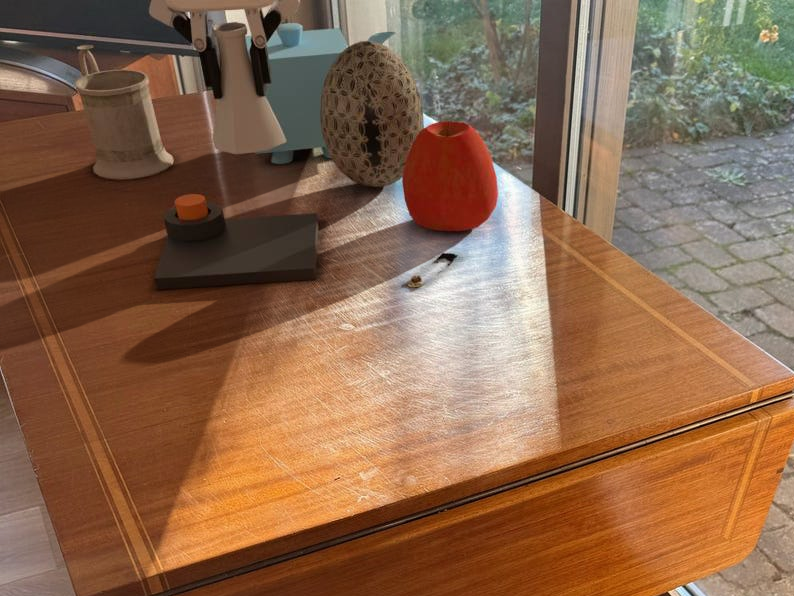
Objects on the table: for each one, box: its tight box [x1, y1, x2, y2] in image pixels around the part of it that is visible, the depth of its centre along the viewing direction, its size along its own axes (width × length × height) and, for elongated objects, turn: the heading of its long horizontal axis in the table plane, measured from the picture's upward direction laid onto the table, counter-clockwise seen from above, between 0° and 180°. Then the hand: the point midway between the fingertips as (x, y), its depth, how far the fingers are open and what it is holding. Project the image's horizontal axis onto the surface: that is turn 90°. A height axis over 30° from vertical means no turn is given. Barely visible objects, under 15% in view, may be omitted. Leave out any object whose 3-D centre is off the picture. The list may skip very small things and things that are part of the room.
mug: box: [74, 44, 174, 181], centre depth 121 cm, size 14×10×12 cm
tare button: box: [174, 193, 209, 220], centre depth 105 cm, size 3×3×2 cm
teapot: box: [245, 22, 396, 165], centre depth 122 cm, size 22×11×14 cm, turn 102°
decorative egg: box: [320, 40, 425, 188], centre depth 112 cm, size 12×12×15 cm
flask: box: [211, 21, 287, 155], centre depth 93 cm, size 7×7×10 cm
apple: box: [401, 120, 499, 232], centre depth 105 cm, size 10×10×10 cm
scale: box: [153, 201, 320, 291], centre depth 103 cm, size 16×15×3 cm
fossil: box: [406, 252, 459, 288], centre depth 100 cm, size 8×2×1 cm, turn 152°
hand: (240, 91), depth 93 cm, fingers closed on flask, 3 cm apart
